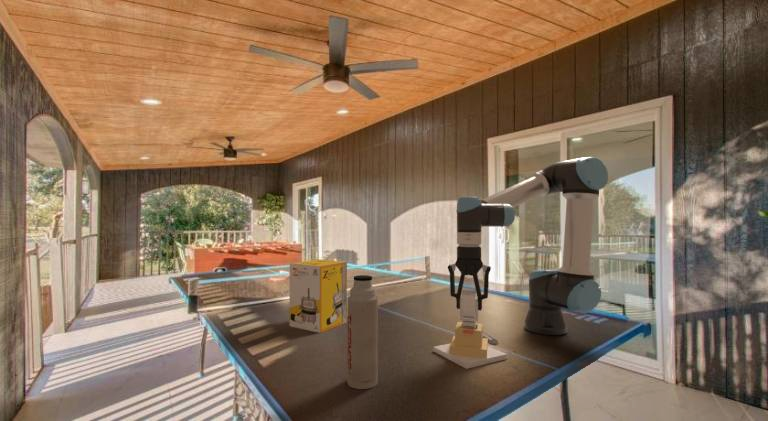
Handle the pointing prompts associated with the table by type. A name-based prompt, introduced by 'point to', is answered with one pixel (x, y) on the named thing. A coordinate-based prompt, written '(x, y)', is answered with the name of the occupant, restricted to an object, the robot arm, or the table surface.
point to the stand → (469, 348)
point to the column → (468, 309)
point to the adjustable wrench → (490, 338)
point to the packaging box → (318, 294)
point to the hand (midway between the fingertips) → (469, 319)
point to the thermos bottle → (362, 334)
